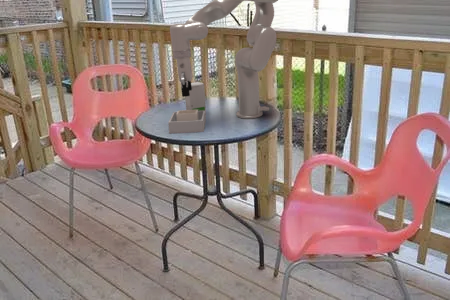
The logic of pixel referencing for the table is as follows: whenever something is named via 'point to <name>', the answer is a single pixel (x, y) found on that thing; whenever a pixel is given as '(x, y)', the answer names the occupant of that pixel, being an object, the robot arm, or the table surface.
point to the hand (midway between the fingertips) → (187, 93)
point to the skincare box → (196, 97)
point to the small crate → (187, 115)
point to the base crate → (187, 124)
